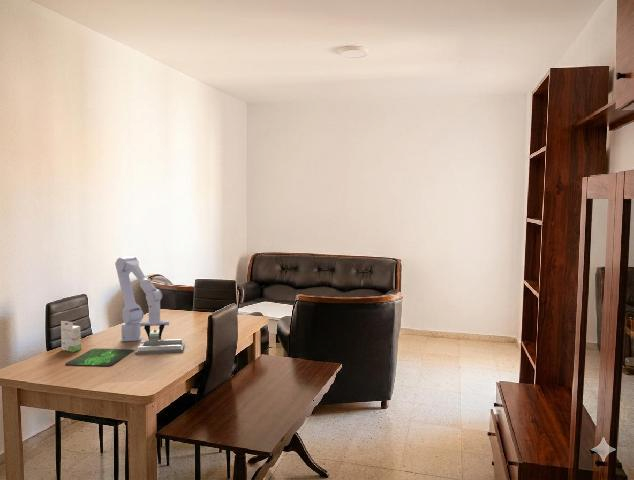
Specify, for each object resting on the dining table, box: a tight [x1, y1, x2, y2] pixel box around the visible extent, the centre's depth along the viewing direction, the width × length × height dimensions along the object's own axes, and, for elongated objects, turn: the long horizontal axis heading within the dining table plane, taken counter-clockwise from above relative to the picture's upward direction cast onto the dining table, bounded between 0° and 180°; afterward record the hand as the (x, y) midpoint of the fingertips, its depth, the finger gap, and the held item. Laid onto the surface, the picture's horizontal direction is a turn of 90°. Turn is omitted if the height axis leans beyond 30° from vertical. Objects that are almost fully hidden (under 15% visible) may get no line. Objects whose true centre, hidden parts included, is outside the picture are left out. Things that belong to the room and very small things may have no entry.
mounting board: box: [135, 342, 185, 355], centre depth 256 cm, size 22×13×1 cm, turn 101°
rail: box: [137, 338, 183, 351], centre depth 256 cm, size 20×12×2 cm, turn 101°
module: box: [148, 328, 159, 341], centre depth 267 cm, size 5×8×7 cm, turn 11°
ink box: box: [60, 320, 82, 353], centre depth 254 cm, size 9×5×15 cm, turn 65°
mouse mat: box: [65, 348, 135, 367], centre depth 243 cm, size 27×22×1 cm
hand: (154, 339), depth 267 cm, fingers closed on module, 5 cm apart
